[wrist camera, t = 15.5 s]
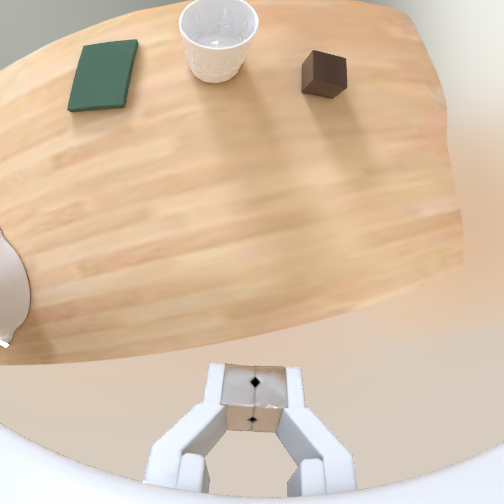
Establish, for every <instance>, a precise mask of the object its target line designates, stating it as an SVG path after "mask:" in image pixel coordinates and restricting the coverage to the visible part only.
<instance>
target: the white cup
mask: <svg viewBox="0 0 504 504" xmlns="http://www.w3.org/2000/svg"><path fill="white" fill-rule="evenodd" d="M258 26H259V19H258V16H257V13H256V12H255V10H254V9H253V8H252V7H251V6H250V5H249V4H248V3H246V2H245V1H243V0H196V1H194V2H193V3H191V4H190V5H189V6H187V7H186V8H185V10H184V11H183V12H182V14H181V16H180V19H179V28H180V33H181V37H182V42H183V47H184V51H185V54H186V58H187V61H188V64H189V68H190V70H191V71H192V73H193V74H194V76H195V77H197V78H199V79H200V80H202V81H204V82H210V83H219V82H224V81H228V80H229V79H231V78H232V77H233V76H235V75H236V74H237V73H238V71H239V69H240V67H241V65H242V63H243V62H244V60H245V57H246V55H247V53H248V51H249V49H250V46H251V44H252V41H253V39H254V36H255V34H256V32H257V29H258Z"/></svg>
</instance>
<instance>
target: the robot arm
mask: <svg viewBox="0 0 504 504" xmlns="http://www.w3.org/2000/svg"><path fill="white" fill-rule="evenodd" d="M29 306H30V289H29V282H28V278H27V274H26V271H25V268H24V266H23V264H22V261H21V259H20V258H19V256H18V254H17V253H16V251H15V250H14V249H13V247H12V246H11V245H10V244H9V243H8V242H7V241H6V240H5V239H4V237H3V235H2V232H1V230H0V345H2V346H4V347H7V346H8V344H7V343H8V342H10V341H11V340H12V338H13V335H14V331H15V330H16V329H17V328H18V327H19V326H20V325H21V324H22V323H23V322H24V321H25V319H26V317H27V314H28V311H29ZM226 430H233V431H255V432H275V433H276V435H277V436H278V438H279V439H280V441H281V442H282V444H283V445H284V447H285V448H286V450H287V451H288V453H289V454H290V456H291V457H292V459H293V460H294V461H295V463H296V464H297V466H298V468H297V469H296V471H295V472H294V474H293V475H292V476H291V478H290V479H289V480H288V482H287V497H242V496H227V495H216V494H209V483H210V478H209V474H208V470H207V466H206V462H205V459H204V457H205V456H206V455H207V454H208V453H209V451H210V450H211V449H212V448H213V447H214V446H215V444H216V443H217V442H218V441H219V439H220V438H221V437H222V436H223V435H224V433H225V432H226ZM0 504H504V442H502V443H500V444H498V445H496V446H494V447H492V448H490V449H488V450H486V451H483V452H481V453H479V454H477V455H475V456H472V457H470V458H467V459H465V460H463V461H460V462H458V463H455V464H452V465H450V466H447V467H445V468H442V469H439V470H436V471H433V472H430V473H427V474H423V475H420V476H417V477H414V478H410V479H406V480H402V481H398V482H394V483H390V484H386V485H382V486H377V487H372V488H366V489H361V490H357V483H356V476H355V469H354V462H353V456H352V454H351V452H350V451H349V450H348V449H347V448H346V447H345V446H344V445H343V444H342V443H341V442H340V441H339V440H338V438H336V436H335V435H334V434H333V433H332V432H331V431H330V430H329V429H328V428H327V426H326V425H325V424H324V423H323V422H322V421H321V420H320V419H319V418H318V416H317V415H316V414H315V413H314V412H313V411H312V410H311V408H306V407H305V397H304V388H303V379H302V371H301V368H300V367H280V366H279V367H278V366H245V365H234V364H224V363H214V362H210V365H209V369H208V374H207V380H206V386H205V393H204V398H203V403H200V402H199V403H197V404H196V405H195V406H194V407H193V408H192V409H191V410H190V411H189V412H188V413H187V414H186V415H185V416H183V417H182V418H181V419H180V420H179V421H178V422H177V423H176V424H175V425H174V426H173V427H172V428H171V429H169V430H168V431H167V432H166V433H165V434H164V435H163V436H162V437H161V438H160V439H158V440H157V441H156V442H155V443H154V444H153V445H152V447H151V451H150V455H149V460H148V464H147V468H146V472H145V477H144V481H143V482H141V481H137V480H133V479H129V478H126V477H123V476H118V475H116V474H113V473H109V472H106V471H103V470H100V469H97V468H94V467H92V466H89V465H86V464H83V463H81V462H78V461H76V460H73V459H71V458H68V457H66V456H64V455H61V454H59V453H57V452H54V451H52V450H50V449H48V448H46V447H44V446H41V445H40V444H38V443H35V442H33V441H32V440H30V439H28V438H25V437H24V436H22V435H20V434H19V433H17V432H15V431H13V430H12V429H10V428H8V427H6V426H5V425H3V424H1V423H0Z"/></svg>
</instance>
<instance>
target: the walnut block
mask: <svg viewBox="0 0 504 504" xmlns="http://www.w3.org/2000/svg"><path fill="white" fill-rule="evenodd" d="M346 88H347V67H346V58H343V57H339V56H335V55H331V54H328V53H324V52H319V51H315V50H313V51H312V52H311V53H310V55H309V56H308V57H307V59H306V60H305V61H304V63H303V64H302V92H303V93H309V94H314V95H319V96H323V97H328V98H334V97H336V96H337V95H338V94H340V93H341V92H342V91H343V90H345V89H346Z"/></svg>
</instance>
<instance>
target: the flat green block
mask: <svg viewBox="0 0 504 504" xmlns="http://www.w3.org/2000/svg"><path fill="white" fill-rule="evenodd" d="M137 47H138V41H137V39H135V40H124V41H114V42H106V43H99V44H93V45H86V46H84V47H83V50H82V53H81V56H80V60H79V63H78V67H77V70H76V74H75V78H74V82H73V86H72V90H71V94H70V99H69V104H68V109H67V110H69V111H70V112H75V111H84V110H94V109H107V108H123V107H125V103H126V97H127V92H128V86H129V81H130V77H131V72H132V67H133V63H134V59H135V55H136V50H137Z"/></svg>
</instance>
